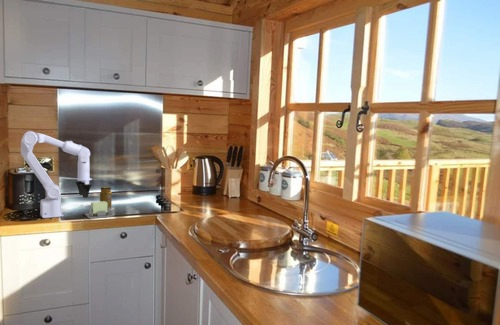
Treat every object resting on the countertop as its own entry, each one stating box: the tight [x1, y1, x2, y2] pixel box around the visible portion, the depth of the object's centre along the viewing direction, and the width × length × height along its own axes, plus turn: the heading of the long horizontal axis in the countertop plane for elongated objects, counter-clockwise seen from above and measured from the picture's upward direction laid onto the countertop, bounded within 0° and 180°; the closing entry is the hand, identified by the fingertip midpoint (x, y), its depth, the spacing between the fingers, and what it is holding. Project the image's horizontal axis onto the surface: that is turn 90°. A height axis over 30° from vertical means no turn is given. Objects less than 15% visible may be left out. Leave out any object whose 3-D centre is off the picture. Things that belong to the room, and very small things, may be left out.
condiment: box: [99, 186, 115, 211], centre depth 231 cm, size 7×8×12 cm
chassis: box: [84, 207, 115, 220], centre depth 214 cm, size 12×9×4 cm
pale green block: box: [90, 201, 107, 214], centre depth 213 cm, size 7×4×5 cm, turn 126°
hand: (83, 196), depth 216 cm, fingers open, 7 cm apart
